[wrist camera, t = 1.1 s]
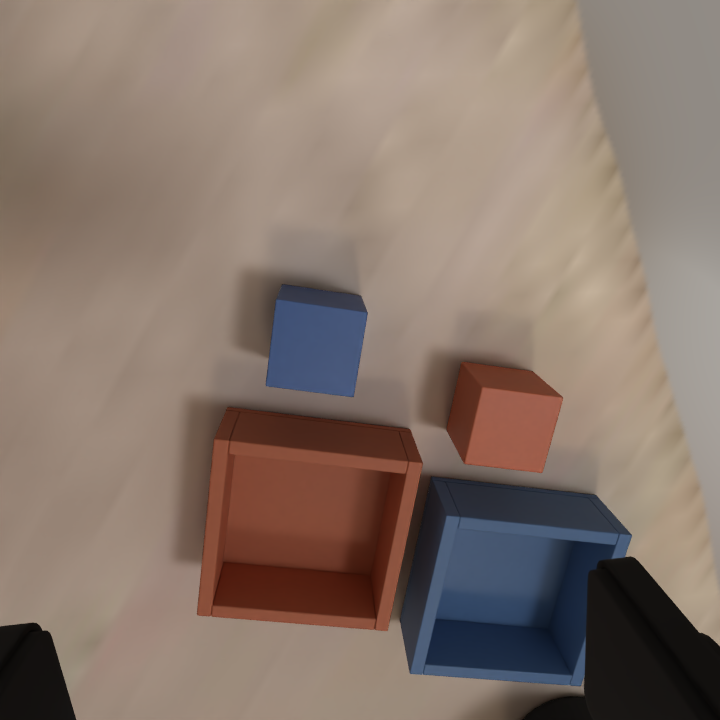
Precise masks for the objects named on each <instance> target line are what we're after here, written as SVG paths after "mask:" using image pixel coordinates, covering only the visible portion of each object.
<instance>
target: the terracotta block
mask: <svg viewBox="0 0 720 720" xmlns="http://www.w3.org/2000/svg"><path fill="white" fill-rule="evenodd" d="M562 401H563V397H562V396H561V395H560V394H558V393H557V392H556V391H555V390H554V389H553V388H552V387H550V386H549V385H548V384H547V383H546V382H545V381H543V380H542V379H541V378H540V377H539V376H538V375H536V374H535V373H534V372H533V371H527V370H520V369H512V368H505V367H498V366H490V365H483V364H476V363H469V362H462V363H461V366H460V371H459V376H458V380H457V385H456V389H455V394H454V398H453V403H452V407H451V412H450V416H449V421H448V425H447V432H448V434H449V436H450V438H451V440H452V441H453V443H454V445H455V447H456V449H457V451H458V453H459V455H460V457H461V459H462V461H463V462H464V464H470V465H478V466H487V467H496V468H504V469H513V470H521V471H530V472H538V473H542V472H543V469H544V465H545V462H546V458H547V455H548V451H549V447H550V444H551V440H552V437H553V433H554V429H555V426H556V422H557V419H558V415H559V412H560V408H561V404H562Z"/></svg>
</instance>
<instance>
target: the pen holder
mask: <svg viewBox="0 0 720 720" xmlns="http://www.w3.org/2000/svg"><path fill="white" fill-rule="evenodd" d="M523 720H593V719H592V717H591V715H590V712H589V710H588V707H587V704H586V700H585V698H583V697H565V698H560V699H556V700H553V701H550V702H547V703H545V704H543V705H541V706H539V707H537V708H536V709H534V710H533V711H532V712H530V713H529V714H528V715H527V716H526V717H525V718H524V719H523Z"/></svg>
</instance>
